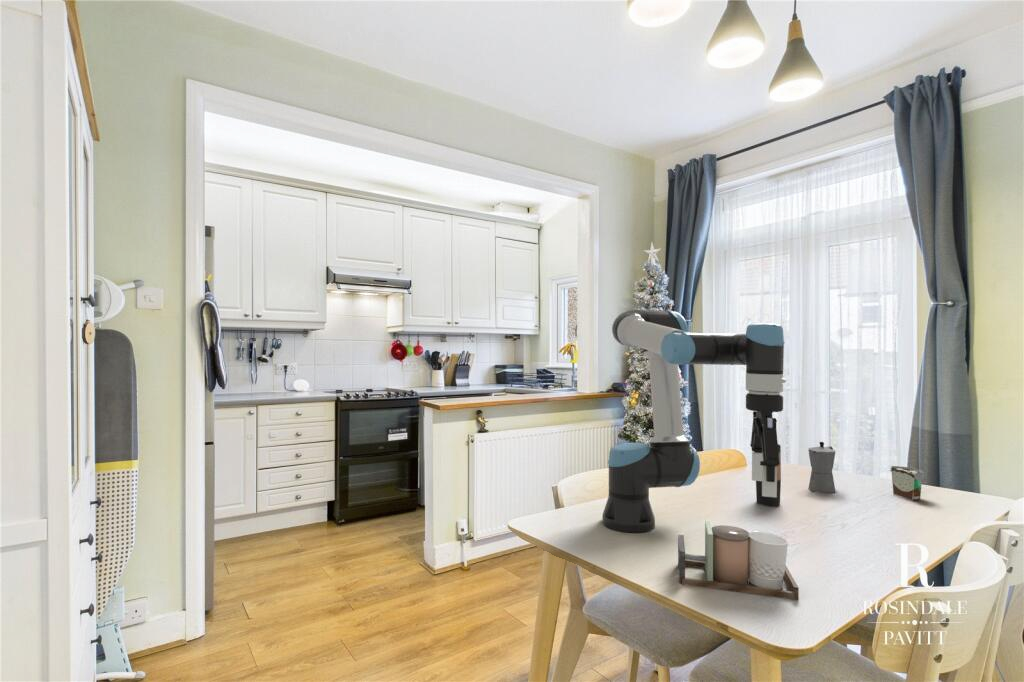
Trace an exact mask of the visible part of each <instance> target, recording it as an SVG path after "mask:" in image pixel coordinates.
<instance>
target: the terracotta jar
mask: <svg viewBox="0 0 1024 682" xmlns="http://www.w3.org/2000/svg"><path fill="white" fill-rule="evenodd" d="M711 529H712V532H713V581H714V582H722V583H730V584H738V585H745V586H749V584H750V581H749V570H748V539H749V533H750V532H749V531H747V529H744V528H741V527H738V526H734V525H733V526H732V525H714V526H711Z"/></svg>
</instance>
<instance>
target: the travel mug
mask: <svg viewBox="0 0 1024 682" xmlns="http://www.w3.org/2000/svg"><path fill="white" fill-rule="evenodd" d="M781 449H782V447H781V444H779V443H778V453H779V461H780V464H779V465H777V497H765V496H762V481H755V493H756V494H755V495H756V504H759V505H761V506H765V507H779V506H781V488H782V487H781V486H782V485H781V482H782V467H781V466H782V464H781V463H782V462H781V461H782V460H781V459H782V456H781V455H782V454H781V451H782V450H781ZM761 453H762V452H761Z"/></svg>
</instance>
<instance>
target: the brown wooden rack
mask: <svg viewBox="0 0 1024 682" xmlns="http://www.w3.org/2000/svg"><path fill="white" fill-rule="evenodd" d="M684 537H685V536H684V534H678V536H677V538H678V539H677V541H678V542H677V543H678V544H677V550H678V551H677V552H678V553H677V555H678V556H677V565H678V567H677V568H678V583H679V584H682V585H684V586H693V587H700V588H705V589H706V588H707V589H713V590H714V589H715V590H722V591H730V592H736V593H746V594H752V595H758V596H759V595H760V596H766V597H775V598H782V599H790V600H798V601H799V588H800V587H799V586H798V584H797V582H796V581H795V579H794V578H793V575H792V573H791V572H790V570H789V569H788V567H787V564H786V565H785V573H784V576H783V582H785V583H784V584H785V585H786V587H787V589H788V590H781V589H779V590H776V589H768V588H761V587H758V586H754V585H747V586H745V585H738V584H730V583H722V582H715V581H714V580H713V581H707V579H698V578H689V577H686V566H687V567H694V568H703V569H705V562H704V561H696V560H687V559H685V554H686V546H685V544H686V543H685V538H684ZM748 569H749V568H748Z"/></svg>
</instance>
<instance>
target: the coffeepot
mask: <svg viewBox="0 0 1024 682" xmlns="http://www.w3.org/2000/svg"><path fill="white" fill-rule="evenodd" d="M819 445H820V446H814V447H813V446H812V447H808V450H807V451H808V457H809V461H810V462H809V463H810V467H811V473H810V478H809V482H808V483H809V484H808V490H810V491H812V492H817V493H824V494H834V493H836V486H835V481H834V473H833V469H834V465H835V464H834V463H835V457H836V452H837V451H836V450H835V449H834V448H833V446H831V445H830V446H825V442H824V441H819Z"/></svg>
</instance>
